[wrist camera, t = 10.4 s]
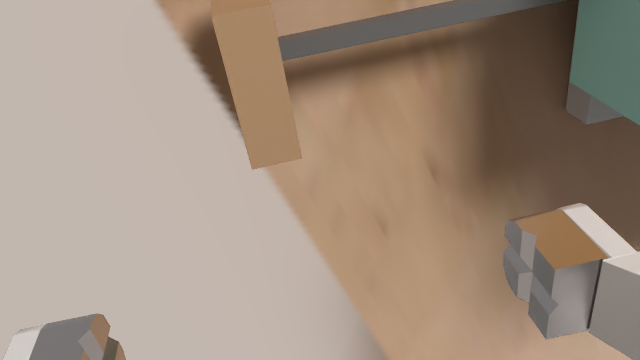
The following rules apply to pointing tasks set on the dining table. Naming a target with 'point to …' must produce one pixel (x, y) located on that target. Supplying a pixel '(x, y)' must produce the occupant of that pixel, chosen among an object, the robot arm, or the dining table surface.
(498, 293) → the dining table surface
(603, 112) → the shelf lane
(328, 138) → the dining table surface
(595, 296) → the robot arm
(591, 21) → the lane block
